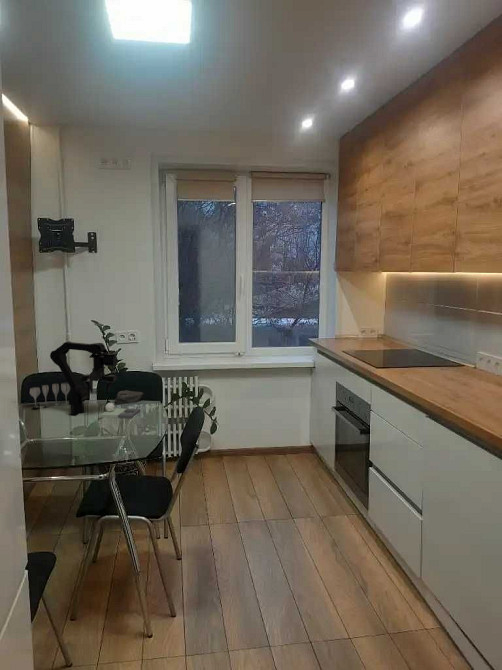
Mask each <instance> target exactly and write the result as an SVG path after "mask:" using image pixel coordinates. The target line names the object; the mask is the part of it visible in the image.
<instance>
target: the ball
mask: <svg viewBox="0 0 502 670" xmlns="http://www.w3.org/2000/svg"><path fill="white" fill-rule="evenodd" d="M115 407H116V406H115V404H114V402H108V403H107V404H105V411H108V412H111V411H113V410H114V408H115Z"/></svg>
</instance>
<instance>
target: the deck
mask: <svg viewBox="0 0 502 670" xmlns="http://www.w3.org/2000/svg"><path fill="white" fill-rule="evenodd" d="M139 412H140V413H141V408H117V407H116V408H114V410H113V411H111V412H108V411H107V410H105V411H104V412H102V413H101V414H100V415H99V417H100V418H103V419H104V418H106V419H109V418H111V419H133V418H135V416H138V414H139Z"/></svg>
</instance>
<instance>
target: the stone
mask: <svg viewBox="0 0 502 670" xmlns="http://www.w3.org/2000/svg"><path fill="white" fill-rule="evenodd" d="M144 399H145V393H144V392H142V391H133V390H127V389H126V390H121V391H118V393H117V395H116V397H115V399H114V401H113V404H114V403H115V404H117V405H123V404H134V403H138V402H141V401H142V400H144ZM115 404H114V405H115Z"/></svg>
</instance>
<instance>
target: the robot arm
mask: <svg viewBox="0 0 502 670" xmlns="http://www.w3.org/2000/svg"><path fill="white" fill-rule="evenodd" d="M70 350H71V351H72V350H73V351H81V352H83V351H84V352H88V353H90V354H91V355H90V356H89V358H92V363H93V368H92V370H91V372H90V373H89V374H87V373H86V374H84V375H82V376H81V378H80V381H81V382H83V383H85V384H87V386H88V389H89V392H90V393H91V394H93V391H94V382H98V381H99V380H104V381H106V382H105V383H106V394H109V391H110V389H111V387H112V384H113V383H114V382H115V381H117V380H118V377H117V375H116V374H109V375H107V376H106V373H105V369H106V367H117V365H118V363H119V362H118V361H119V359H118V357H117V354H116V353H110V351H108V349H107V348H106V346H105V344H104V343H103V342H94V343H84V342H72V341H66V342H63V343H62V344H61V345H59V347H57V348H56V349H55V350H52V351H51V352H50V354H49V357H50V359H51V361H52V362H53V363H54V364H55V365H56V366H58V368H59V369H60V371H61V373H62V375H63V377H64V378H65V380H66V383H68V384H69V386H70V394H71V398H70V399H69V400H68V402H67V403H68V405H70V413H69V415H72V416H78V415H79V414H84V413H85V409H86V408H85V405H84V402H85V401H86V399H87V397H88V390H87V389H86V387H85V385H81V384H79V382H78V380H77V378H76V376H75V374H74V373H73V371H72V369H71V367H70V365H69V364H68V356H67V354H68V353H69V351H70Z"/></svg>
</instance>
